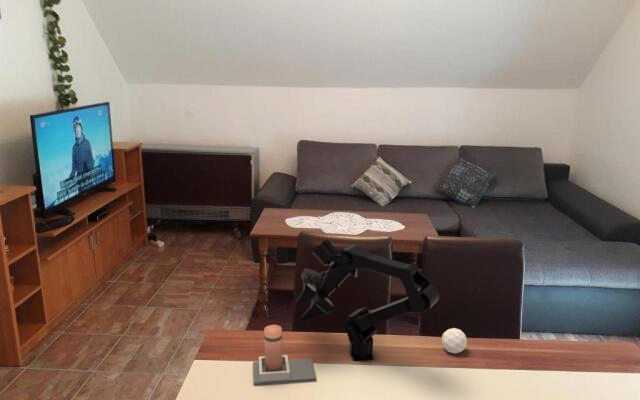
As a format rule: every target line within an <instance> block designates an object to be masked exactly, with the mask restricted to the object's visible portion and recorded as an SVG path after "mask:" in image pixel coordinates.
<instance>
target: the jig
mask: <svg viewBox="0 0 640 400" xmlns="http://www.w3.org/2000/svg"><path fill="white" fill-rule="evenodd" d="M288 357H289V356H288V354H282V367H283V371H275V372H266V371H265V355H264V356H263V355H262V356H258V361H253V362H252V365H253V366H252V370H253V371H252V373H253V374H252V376H253V379H252V380H253V386H255V387H256V386H266V385H283V384H294V383H295V384H296V383H297V384H298V383H308V382H309V383H313V382H317V376H316V375H317V374H316V371H315V366H314V361H313V358H312V357H309V358H295V359H294V358H293V359H289V358H288Z"/></svg>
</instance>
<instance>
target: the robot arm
mask: <svg viewBox="0 0 640 400" xmlns="http://www.w3.org/2000/svg"><path fill="white" fill-rule="evenodd" d="M312 254H313V256H315V258H316V259H317V260H318V261H319V262H320V263H321V264H322V265H323V266H324V267H327V266H329V267H330V268H328V270H322V271H321V272H317V271H315V270H314V269H313V270H312V269H310V268H307V267H304V269H303V270H302V273H301V275H300V278H301V282H302V283H303V289H302V290H301V292H300V294H299V296H298V298H297V300H296V302H295V305H296V306H297V307H298V306H301V305H303V304H305V303H307V302H308V301H310V302H311V303H310V306H309V307H308V308H307V309H306V311H305V312H304V313H303V314H302V316H301V317H300V319H301V320H302V321H306V320H309V319H312V318H314V317H317V316H323V315H328V316H330V315H331V314H332V313H333V312H334V311H335V310H334V308H335V307H334V304H333V303H332V301H331V300H330V299H331V298H332V297H331V294H332V293H333V292H334V291H335V290H337V291H338V290H340V289H341V287H340V285H341V284H342V283H343V282H344V281H345V280H346V279H347V278H349V276H350V275H351V276H353V277H355V278H357V277H358V270H369V271H372V272H375V273H379V274H383V275H385V276H388V277H393V278H395V279H399V280H400V282H402V284H403V288H404V290H405V293H406V296H407V297H404V298H401V299H398V300H396V301H393V302H391V303H388V304H386V305H383V306H380V307H377V308H375V309H369V308H368V306H367V305H366V306H365V307H362V308H357V309H355V311H353V312H352V313H351V314H349V315H347V319H346V320H345V321H344V328H345V331H346V334H347V337H348V341H349V345H348V346H349V347H348V349H349V354H350V356H351V358H352V360H353V362H356V361H357V362H359V361H360V362H361V361H373V360H374V359H375V358H374V355H373V353H374V352H373V348H374V338H373V336H374V335H376V333H377V331H378V328H377V326H375V325H377V324H380V323H382V322H386V321H388V320H391V319H393V318H397V317H399V316H402V315H405V314H408V313H410V314H421V313H425V312H428V311H429V310H430V309H431V308H433V306H435V304H436V303H437V302H438V301H439V299H440V294H439V291H438V289H437V288H436V287H435V286H434V285H433V284H432V282H431V281H430V280H429V279H428V278H427V276H425V275H424V274H423V273H421V272H420V271H419V269H418V268H417V267H416V266H415V265H414V264H411V263H405V262H402V261H399V260H394V259H391V258H389V257H388V258H387V257H383V256H380V255H376V254H374V253H371V252H370V251H369V250H368V249H367V248H365V247H363V246H361V245H358V244H351V246H349V247H345V248H342V249H340V250H338V249H337V248H336V247H335V246H334V244H332V243H331V241H330V240H329V238H326V239H325V240H323V241H322V242H320V243H319V244H318V245H317V247H315V248H314V249H313V250H312ZM416 284H417V285H416ZM417 286H419V288H417Z"/></svg>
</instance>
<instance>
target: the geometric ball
mask: <svg viewBox="0 0 640 400" xmlns="http://www.w3.org/2000/svg"><path fill="white" fill-rule="evenodd" d="M441 337H442V338H441V343H442V347H443V348H444V350H446V352H449V353H451V354H458V353H461V352H462V351H464V350H465V349H466V347H467V343H468V341H467V336H466V334H465V333H464V332H463V331H462V330H461V329H459V328H455V327H452V328H448V329H447V330H446V331H444V332H443V333H442V336H441Z"/></svg>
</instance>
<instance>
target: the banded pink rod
mask: <svg viewBox="0 0 640 400" xmlns="http://www.w3.org/2000/svg"><path fill="white" fill-rule="evenodd" d="M263 330H264V333H263V337H264V338H263V339H264V356H265V371H266V372H275V371H283V367H282V355H283V329H282V326H281V325H278V324H271V325H270V324H269V325H267V326H265V327H264V329H263Z"/></svg>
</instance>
